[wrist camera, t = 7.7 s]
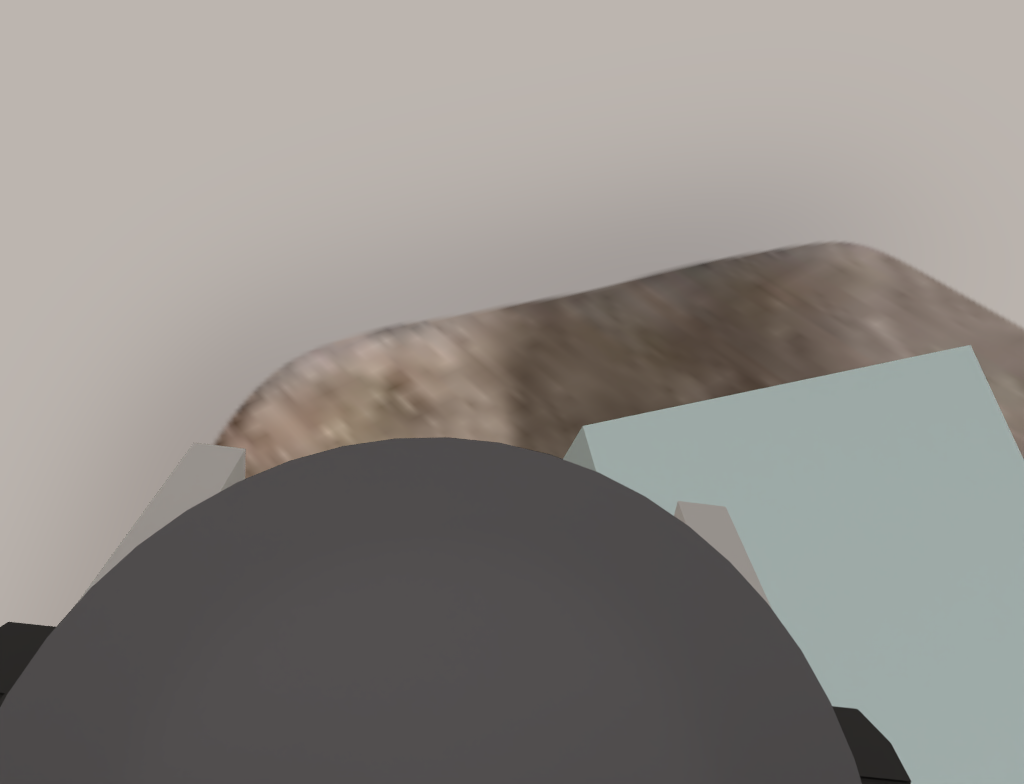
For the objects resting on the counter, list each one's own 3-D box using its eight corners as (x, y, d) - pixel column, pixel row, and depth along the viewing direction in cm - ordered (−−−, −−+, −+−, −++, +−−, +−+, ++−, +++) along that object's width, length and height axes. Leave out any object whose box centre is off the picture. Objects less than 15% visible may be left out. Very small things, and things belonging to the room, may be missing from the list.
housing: (786, 465, 37) (970, 344, 25) (913, 811, 33) (1212, 866, 20) (521, 526, 35) (582, 425, 23) (619, 906, 30) (760, 1034, 18)
